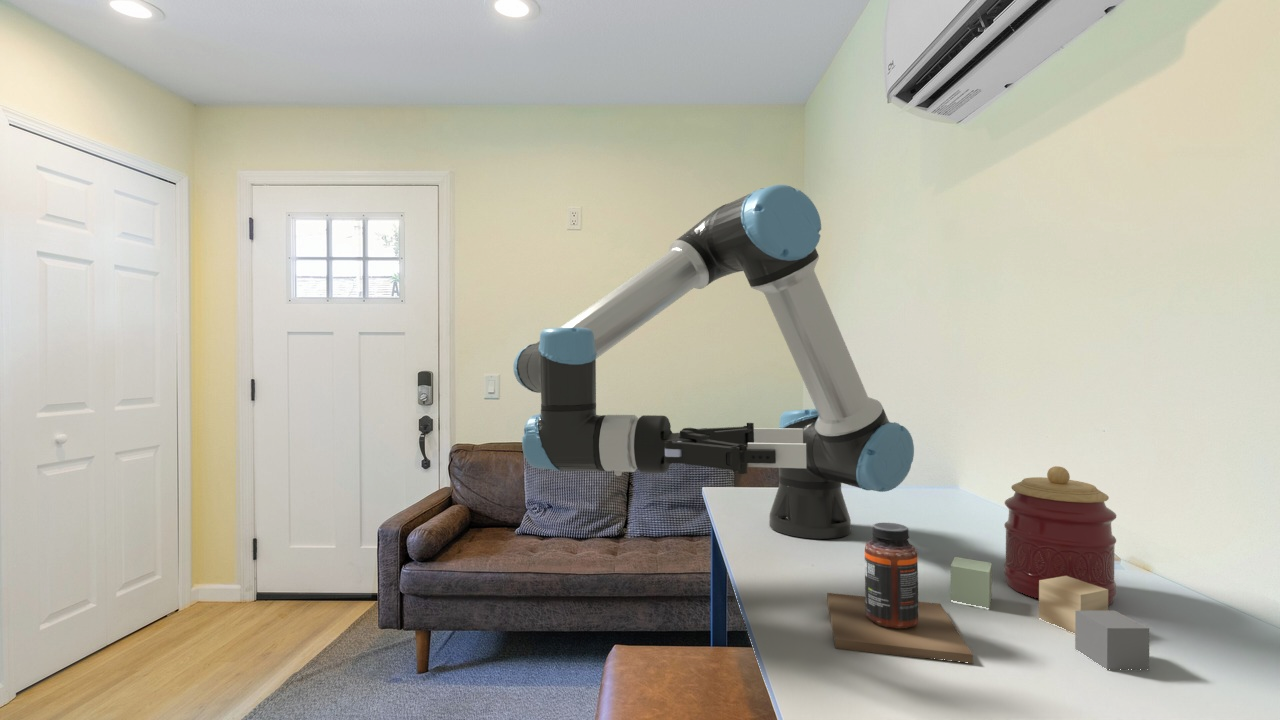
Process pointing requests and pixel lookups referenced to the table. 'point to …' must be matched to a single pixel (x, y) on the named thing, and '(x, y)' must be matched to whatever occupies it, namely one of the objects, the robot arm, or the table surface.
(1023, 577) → the canister
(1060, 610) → the beech block
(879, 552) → the supplement bottle
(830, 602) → the plate
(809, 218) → the robot arm
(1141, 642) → the grey block
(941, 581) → the table surface
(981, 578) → the sage block
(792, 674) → the table surface
